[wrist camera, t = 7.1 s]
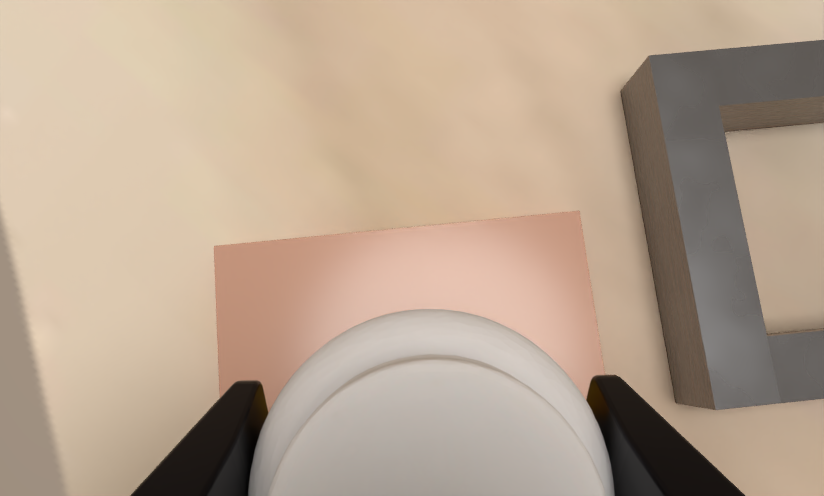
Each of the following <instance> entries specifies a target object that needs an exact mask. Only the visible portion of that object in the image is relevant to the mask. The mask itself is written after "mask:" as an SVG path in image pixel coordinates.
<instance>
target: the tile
mask: <svg viewBox="0 0 824 496" xmlns="http://www.w3.org/2000/svg"><path fill="white" fill-rule="evenodd" d="M214 262H215V287H216V313H217V338H218V364H219V389H220V397H221V396H222V395H223V394H224V393H225V392H226V391H227V390H228V389H229V388H230V387H231V386H232V384H234V383H235V382H236V381H241V380H257V381H260V382H261V384H262V386H263V390H264V394H265V399H266V404H267V408H268V413H269V411H270V409H271V407H272V405H273V404H274V402H275V400H276V399H277V397H278V395H279V393H280V392H281V390H282V389H283V387H284V386H285V385H286V383H287V382H288V381H289V379H290V378H291V377H292V375H293V374H294V373H295V372H296V371H297V370H298V369H299V368H300V366H301V365H302V364H303V363H304V362H305V361H306V360H308V359H309V358H310V357H311V356H312V355H313V354H314V353H315V352H316V351H318V350H319V349H320V348H321V347H323V346H324V345H325V344H327V343H328V342H329V341H330V340H332V339H333V338H335V337H336V336H338V335H340V334H341V333H343V332H345V331H347V330H348V329H350V328H352V327H354V326H356V325H358V324H360V323H363V322H365V321H368V320H370V319H373V318H376V317H380V316H383V315H386V314H390V313H395V312H400V311H406V310H415V309H445V310H453V311H461V312H466V313H470V314H474V315H478V316H481V317H485V318H487V319H490V320H492V321H495V322H498V323H500V324H502V325H504V326H506V327H508V328H510V329H512V330H514V331H516V332H518V333H519V334H521V335H522V336H524V337H526V338H527V339H529V340H530V341H532V342H533V343H534V344H536V345H537V346H538V347H539V348H541V349H542V350H543V351H544V352H546V353H547V354H548V355H549V356H550V357H551V358H552V359H553V360H554V361H555V362H556V363H557V364H558V365H559V366H560V367H561V368H562V369H563V370H564V371H565V372H566V374H567V375H568V376H569V377H570V378H571V380H572V381H573V382H574V384H575V385H576V386H577V388H578V389H579V390H580V392H581V393H582V395H583V396H584V398H585V400H586V399H587V394H588V390H589V385H590V381H591V379H592V377H593V376H595V375H605V371H604V365H603V358H602V352H601V346H600V339H599V333H598V326H597V320H596V314H595V307H594V301H593V295H592V288H591V282H590V276H589V269H588V263H587V256H586V250H585V244H584V237H583V231H582V225H581V218H580V212H579V211H573V212H562V213H552V214H542V215H531V216H521V217H511V218H500V219H490V220H480V221H469V222H459V223H448V224H438V225H428V226H417V227H407V228H397V229H386V230H376V231H366V232H355V233H345V234H334V235H324V236H314V237H303V238H293V239H283V240H272V241H262V242H251V243H241V244H231V245H220V246H214Z"/></svg>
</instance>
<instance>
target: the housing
mask: <svg viewBox="0 0 824 496" xmlns="http://www.w3.org/2000/svg"><path fill="white" fill-rule="evenodd" d="M621 95H622V101H623V106H624V112H625V118H626V123H627V129H628V135H629V140H630V146H631V152H632V157H633V163H634V168H635V174H636V180H637V185H638V191H639V197H640V202H641V208H642V214H643V219H644V225H645V230H646V236H647V242H648V247H649V253H650V259H651V264H652V270H653V276H654V281H655V287H656V292H657V298H658V304H659V309H660V315H661V321H662V326H663V332H664V338H665V343H666V349H667V355H668V360H669V366H670V371H671V377H672V383H673V388H674V394H675V400H676V403H678V404H684V405H690V406H696V407H702V408H707V409H713V410H720V409H730V408H739V407H749V406H758V405H767V404H777V403H786V402H796V401H805V400H815V399H824V328H822V329H812V330H803V331H793V332H783V333H773V334H766V329H765V324H764V319H763V315H762V310H761V305H760V300H759V295H758V291H757V286H756V281H755V276H754V272H753V267H752V262H751V257H750V252H749V248H748V243H747V238H746V233H745V228H744V224H743V219H742V214H741V209H740V205H739V200H738V195H737V190H736V185H735V181H734V176H733V171H732V166H731V162H730V157H729V152H728V147H727V142H726V138H725V133H724V132H725V131H735V130H746V129H757V128H767V127H778V126H789V125H799V124H810V123H821V122H824V40H817V41H806V42H795V43H784V44H773V45H762V46H751V47H740V48H728V49H717V50H706V51H695V52H684V53H673V54H662V55H651V56H648V57H647V59H646V60H645V61H644V62H643V64H642V65H641V66H640V67H639V69H638V70H637V71H636V72H635V74H634V75H633V76H632V77H631V79H630V80H629V81H628V82H627V84H626V85H625V86H624V87H623V89H622V90H621Z"/></svg>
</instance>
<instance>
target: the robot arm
mask: <svg viewBox="0 0 824 496" xmlns="http://www.w3.org/2000/svg"><path fill="white" fill-rule="evenodd" d="M586 401H587V403H588V404H589V406H590V408H591V410H592V412H593V414H594V417H595V419H596V421H597V423H598V425H599V427H600V430H601V433H602V435H603V438H604V441H605V445H606V448H607V451H608V454H609V458H610V463H611V468H612V474H613V481H614V492H615V496H745V495H744V494H743V493H742V492H741V491H740V490H739V489H738V488H737V487H736V486H735V485H734V484H733V483H731V482H730V481H729V480H728V479H727V478H726V477H725V476H724V475H723V474H722V473H721V472H720V471H719V470H718V469H717V468H716V467H715V466H713V465H712V464H711V463H710V462H709V461H708V460H707V459H706V458H705V457H704V456H703V455H702V454H701V453H700V452H699V451H698V450H697V449H695V448H694V447H693V446H692V445H691V444H690V443H689V442H688V441H687V440H686V439H685V438H684V437H683V436H682V435H681V434H680V433H679V432H677V431H676V430H675V429H674V428H673V427H672V426H671V425H670V424H669V423H668V422H667V421H666V420H665V419H664V418H663V417H662V416H661V415H660V414H658V413H657V412H656V411H655V410H654V409H653V408H652V407H651V406H650V405H649V404H648V403H647V402H646V401H645V400H644V399H643V398H642V397H640V396H639V395H638V394H637V393H636V392H635V391H634V390H633V389H632V388H631V387H630V386H629V385H628V384H627V383H626V382H625V381H624V380H622V379H621V378H620V377H618V376H617V375H595V376H593V377H592V379H591V381H590V385H589V390H588V394H587V399H586ZM267 416H268V408H267V404H266V399H265V394H264V390H263V386H262V384H261V382H260V381H257V380H241V381H236V382H235V383H234V384H232V386H231V387H230V388H229V389H228V390H227V391H226V392H225V393H224V394H223V395H222V396H221V397H220V399H219V400H218V401H217V402H216V403H215V404H214V405H213V406H212V407H211V408H210V409H209V411H208V412H207V413H206V414H205V415H204V416H203V417H202V418H201V419H200V420H199V421H198V423H197V424H196V425H195V426H194V427H193V428H192V429H191V430H190V431H189V432H188V433H187V435H186V436H185V437H184V438H183V439H182V440H181V441H180V442H179V443H178V444H177V445H176V447H175V448H174V449H173V450H172V451H171V452H170V453H169V454H168V455H167V456H166V457H165V458H164V460H163V461H162V462H161V463H160V464H159V465H158V466H157V467H156V468H155V469H154V470H153V472H152V473H151V474H150V475H149V476H148V477H147V478H146V479H145V480H144V481H143V482H142V484H141V485H140V486H139V487H138V488H137V489H136V490H135V491H134V492H133V493H132V494H131V496H248V488H249V479H250V471H251V466H252V462H253V457H254V452H255V448H256V445H257V441H258V438H259V435H260V431H261V429H262V427H263V425H264V422H265V420H266V418H267Z"/></svg>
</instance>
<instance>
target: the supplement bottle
mask: <svg viewBox="0 0 824 496" xmlns="http://www.w3.org/2000/svg"><path fill="white" fill-rule="evenodd" d="M248 496H615V492H614V481H613V474H612V468H611V463H610V458H609V454H608V451H607V448H606V445H605V441H604V438H603V435H602V433H601V430H600V427H599V425H598V423H597V421H596V419H595V417H594V414H593V412H592V410H591V408H590V406H589V404H588V403H587V401H586V400H585V398H584V396H583V395H582V393H581V392H580V390H579V389H578V388H577V386H576V385H575V384H574V382H573V381H572V380H571V378H570V377H569V376H568V375H567V374H566V372H565V371H564V370H563V369H562V368H561V367H560V366H559V365H558V364H557V363H556V362H555V361H554V360H553V359H552V358H551V357H550V356H549V355H548V354H547V353H546V352H544V351H543V350H542V349H541V348H539V347H538V346H537V345H536V344H534V343H533V342H532V341H530V340H529V339H527V338H526V337H524V336H522V335H521V334H519V333H518V332H516V331H514V330H512V329H510V328H508V327H506V326H504V325H502V324H500V323H498V322H495V321H492V320H490V319H487V318H485V317H481V316H478V315H474V314H470V313H466V312H461V311H453V310H445V309H415V310H406V311H400V312H395V313H390V314H386V315H383V316H380V317H376V318H373V319H370V320H368V321H365V322H363V323H360V324H358V325H356V326H354V327H352V328H350V329H348V330H347V331H345V332H343V333H341V334H340V335H338V336H336V337H335V338H333V339H332V340H330V341H329V342H328V343H327V344H325V345H324V346H323V347H321V348H320V349H319V350H318V351H316V352H315V353H314V354H313V355H312V356H311V357H310V358H309V359H308V360H306V361H305V362H304V363H303V364H302V365H301V366H300V368H299V369H298V370H297V371H296V372H295V373H294V374H293V375H292V377H291V378H290V379H289V381H288V382H287V383H286V385H285V386H284V387H283V389H282V390H281V392H280V393H279V395H278V397H277V399H276V400H275V402H274V404H273V405H272V407H271V409H270V411H269V413H268V416H267V418H266V420H265V422H264V425H263V427H262V429H261V431H260V435H259V438H258V441H257V445H256V448H255V452H254V457H253V462H252V466H251V471H250V479H249V488H248Z"/></svg>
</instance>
